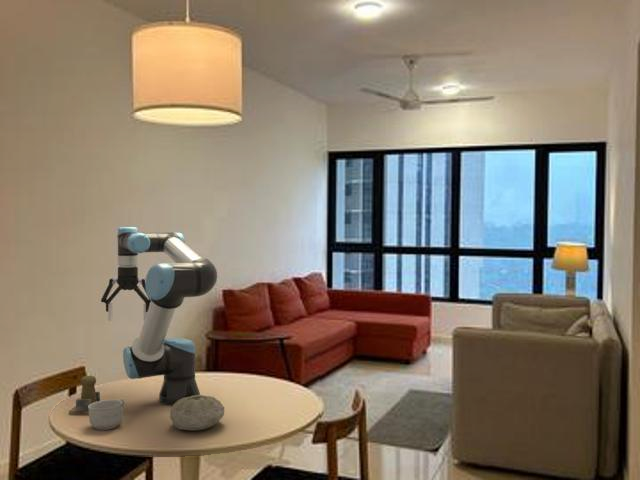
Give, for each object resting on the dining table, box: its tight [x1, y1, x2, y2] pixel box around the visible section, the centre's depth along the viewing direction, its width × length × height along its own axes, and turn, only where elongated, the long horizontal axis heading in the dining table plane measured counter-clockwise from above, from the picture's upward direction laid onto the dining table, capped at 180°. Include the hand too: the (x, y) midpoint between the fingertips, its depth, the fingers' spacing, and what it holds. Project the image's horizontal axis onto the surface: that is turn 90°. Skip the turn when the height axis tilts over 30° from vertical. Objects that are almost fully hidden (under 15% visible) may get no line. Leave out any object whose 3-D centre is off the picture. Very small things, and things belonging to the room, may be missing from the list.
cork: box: [80, 375, 97, 404], centre depth 224 cm, size 6×6×11 cm
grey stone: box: [169, 394, 225, 432], centre depth 208 cm, size 18×18×10 cm
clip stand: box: [68, 391, 101, 415], centre depth 224 cm, size 10×10×5 cm
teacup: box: [88, 398, 125, 431], centre depth 208 cm, size 14×11×8 cm
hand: (127, 320), depth 246 cm, fingers open, 13 cm apart
